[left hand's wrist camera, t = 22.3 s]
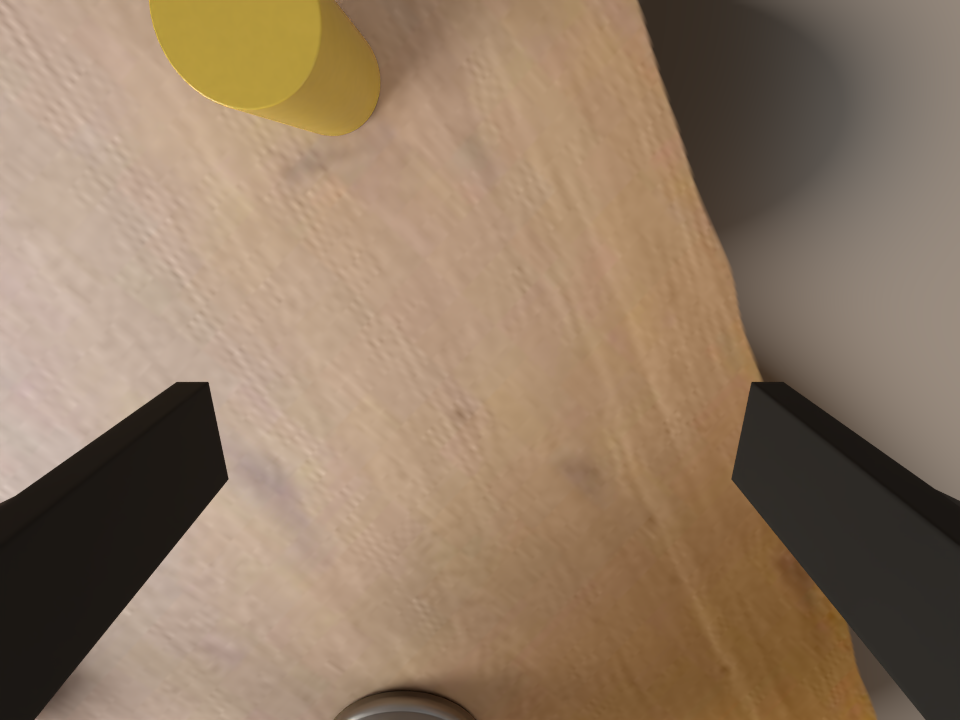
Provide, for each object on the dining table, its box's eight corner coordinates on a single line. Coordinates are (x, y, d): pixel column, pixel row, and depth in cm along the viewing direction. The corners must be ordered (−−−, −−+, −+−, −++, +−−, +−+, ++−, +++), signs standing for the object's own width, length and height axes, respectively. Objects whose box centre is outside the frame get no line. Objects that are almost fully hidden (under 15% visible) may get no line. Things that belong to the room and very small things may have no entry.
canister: (301, -7, 28) (183, -134, 17) (399, 58, 29) (350, -19, 18) (258, 98, 30) (124, 48, 18) (351, 156, 31) (280, 142, 19)
